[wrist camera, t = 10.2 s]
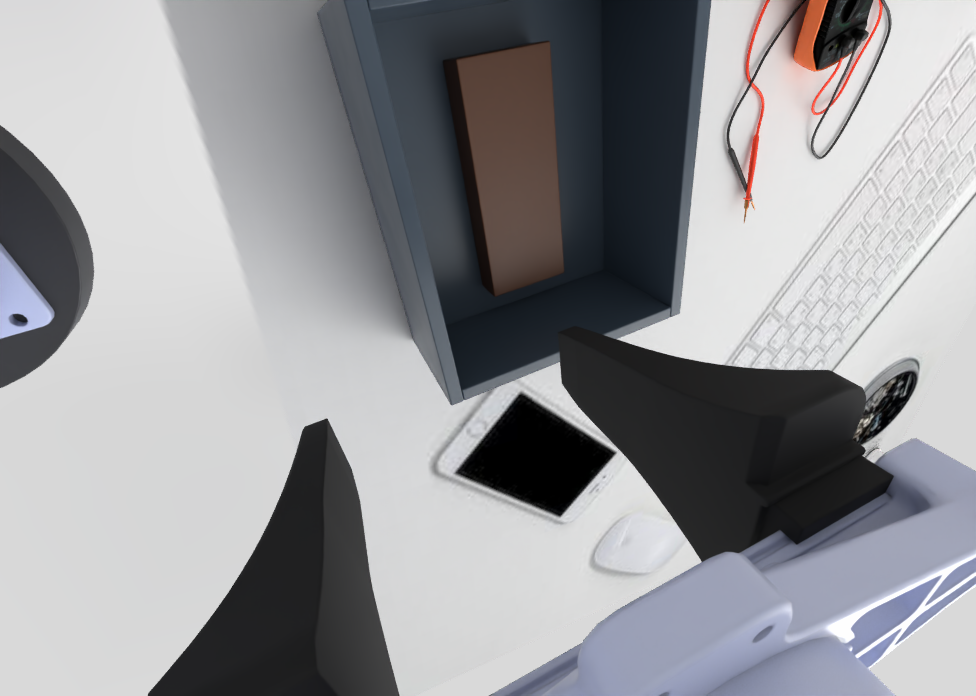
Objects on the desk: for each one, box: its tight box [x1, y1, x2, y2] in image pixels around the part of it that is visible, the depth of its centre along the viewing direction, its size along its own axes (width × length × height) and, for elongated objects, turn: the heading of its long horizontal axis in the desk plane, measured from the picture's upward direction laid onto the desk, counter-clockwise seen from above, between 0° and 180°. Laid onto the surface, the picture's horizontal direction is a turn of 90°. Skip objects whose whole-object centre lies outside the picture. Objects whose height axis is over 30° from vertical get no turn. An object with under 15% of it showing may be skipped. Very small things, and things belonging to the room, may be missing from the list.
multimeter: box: [727, 0, 891, 222], centre depth 24 cm, size 18×12×3 cm, turn 4°
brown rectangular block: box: [443, 41, 564, 297], centre depth 21 cm, size 4×10×2 cm, turn 10°
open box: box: [317, 0, 711, 405], centre depth 19 cm, size 12×14×6 cm
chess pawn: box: [866, 449, 884, 463], centre depth 59 cm, size 3×3×5 cm
